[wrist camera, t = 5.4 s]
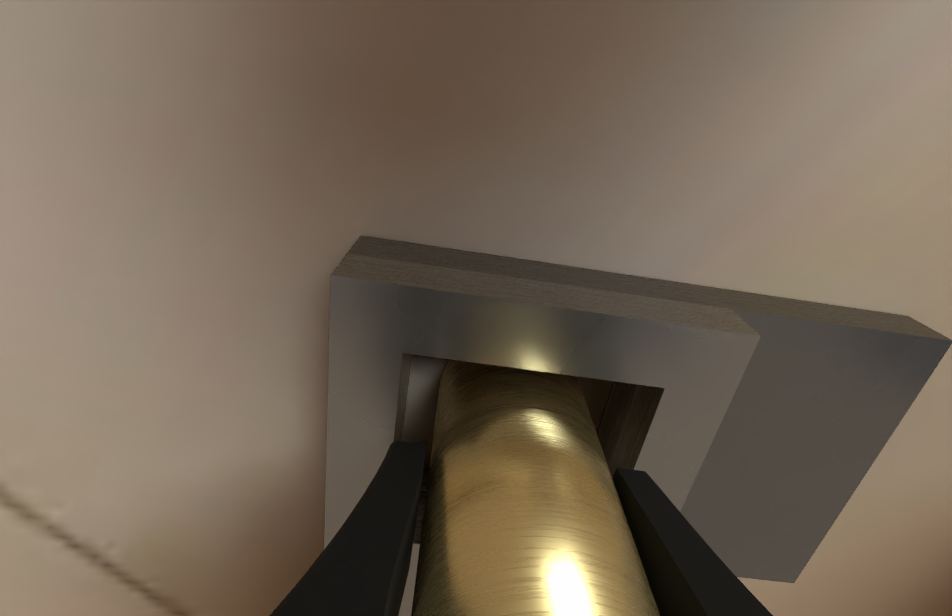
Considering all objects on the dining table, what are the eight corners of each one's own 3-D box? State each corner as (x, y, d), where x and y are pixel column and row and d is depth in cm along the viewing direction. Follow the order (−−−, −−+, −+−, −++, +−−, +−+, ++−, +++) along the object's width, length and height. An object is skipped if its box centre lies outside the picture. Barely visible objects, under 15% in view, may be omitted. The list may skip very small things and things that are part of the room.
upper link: (706, 286, 11) (761, 336, 9) (549, 693, 18) (558, 775, 16) (360, 235, 11) (330, 274, 9) (338, 673, 18) (318, 754, 16)
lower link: (908, 316, 11) (953, 340, 10) (771, 546, 15) (793, 583, 14) (360, 235, 11) (346, 252, 10) (347, 497, 14) (336, 531, 13)
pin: (598, 351, 12) (735, 644, 6) (549, 458, 14) (615, 789, 7) (460, 314, 12) (441, 588, 5) (424, 429, 13) (375, 752, 7)
